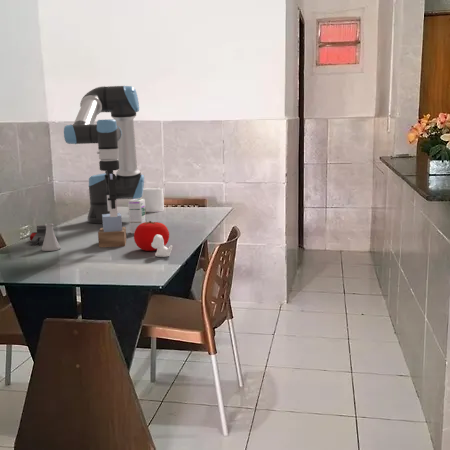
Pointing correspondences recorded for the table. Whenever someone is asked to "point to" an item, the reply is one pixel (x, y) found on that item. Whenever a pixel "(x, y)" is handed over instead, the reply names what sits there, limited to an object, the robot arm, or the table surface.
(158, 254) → the figurine
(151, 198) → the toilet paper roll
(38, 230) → the toy
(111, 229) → the blue brick
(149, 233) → the tomato
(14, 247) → the table surface
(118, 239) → the base block
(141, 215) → the syrup box
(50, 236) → the flask
